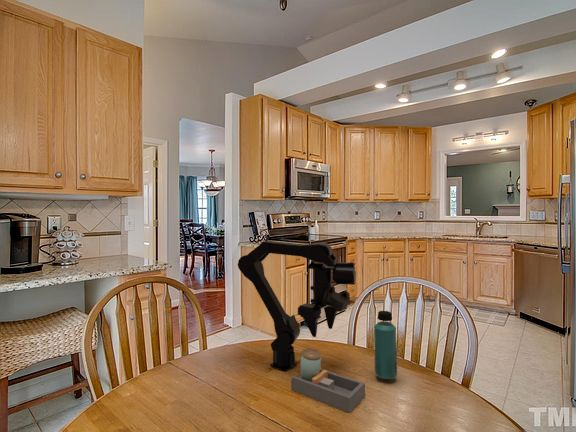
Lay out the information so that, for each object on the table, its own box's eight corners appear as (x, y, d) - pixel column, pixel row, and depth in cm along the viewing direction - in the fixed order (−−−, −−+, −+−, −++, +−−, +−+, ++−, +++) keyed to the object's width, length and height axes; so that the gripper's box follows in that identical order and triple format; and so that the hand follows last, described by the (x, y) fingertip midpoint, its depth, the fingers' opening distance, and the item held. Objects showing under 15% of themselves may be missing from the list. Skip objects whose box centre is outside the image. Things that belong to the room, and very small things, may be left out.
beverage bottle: (398, 385, 94) (398, 315, 94) (374, 383, 95) (374, 314, 95) (395, 374, 100) (395, 309, 100) (373, 372, 101) (373, 308, 101)
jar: (295, 379, 93) (297, 352, 93) (306, 372, 98) (309, 346, 97) (311, 388, 90) (314, 360, 89) (322, 380, 94) (325, 353, 94)
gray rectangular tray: (291, 389, 92) (291, 377, 92) (309, 376, 99) (309, 365, 99) (349, 412, 81) (349, 398, 81) (365, 396, 88) (365, 382, 88)
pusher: (311, 391, 89) (311, 378, 89) (324, 381, 94) (324, 369, 94) (325, 396, 87) (325, 383, 87) (337, 385, 92) (337, 373, 92)
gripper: (328, 292, 91) (328, 348, 91) (359, 281, 105) (359, 330, 105) (296, 286, 98) (296, 339, 98) (329, 277, 112) (329, 323, 112)
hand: (322, 332), depth 103 cm, fingers open, 9 cm apart
